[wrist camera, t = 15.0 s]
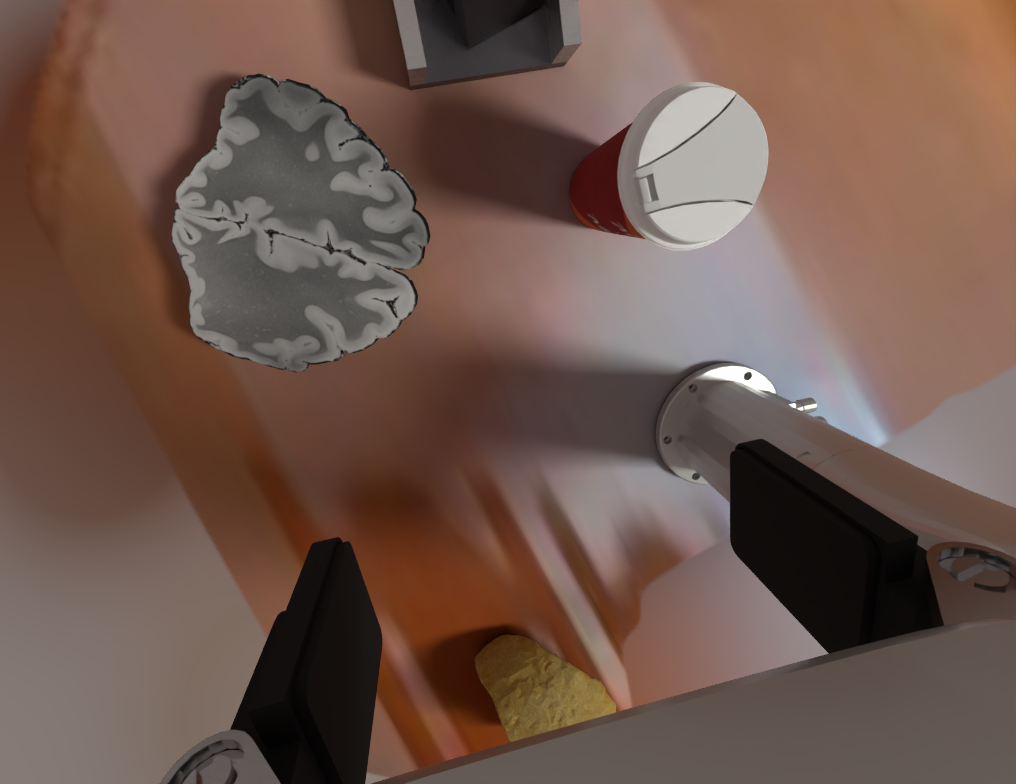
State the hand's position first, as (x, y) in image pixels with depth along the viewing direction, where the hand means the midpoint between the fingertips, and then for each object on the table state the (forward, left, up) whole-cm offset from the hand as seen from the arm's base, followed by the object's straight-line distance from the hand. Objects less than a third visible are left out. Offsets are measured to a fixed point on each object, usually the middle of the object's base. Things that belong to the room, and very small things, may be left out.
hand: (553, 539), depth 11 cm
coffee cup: (-13, -8, -31) cm, 34 cm away
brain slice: (+10, -8, -31) cm, 34 cm away
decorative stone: (0, +42, -31) cm, 52 cm away
